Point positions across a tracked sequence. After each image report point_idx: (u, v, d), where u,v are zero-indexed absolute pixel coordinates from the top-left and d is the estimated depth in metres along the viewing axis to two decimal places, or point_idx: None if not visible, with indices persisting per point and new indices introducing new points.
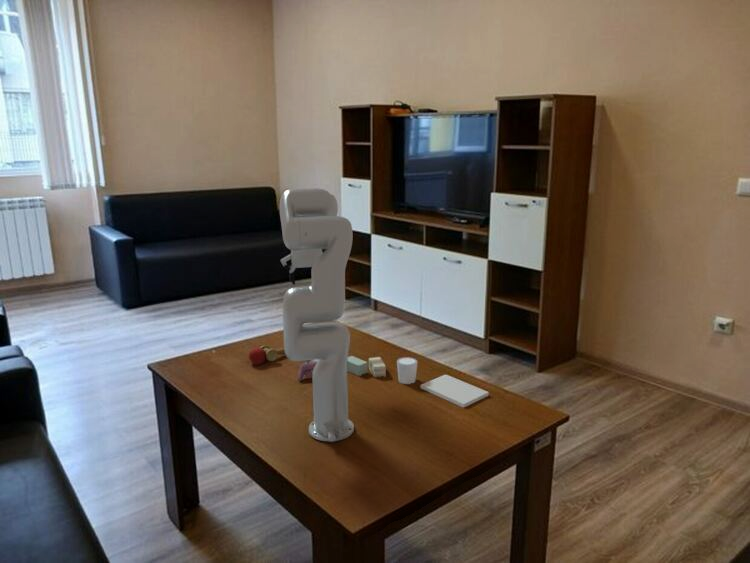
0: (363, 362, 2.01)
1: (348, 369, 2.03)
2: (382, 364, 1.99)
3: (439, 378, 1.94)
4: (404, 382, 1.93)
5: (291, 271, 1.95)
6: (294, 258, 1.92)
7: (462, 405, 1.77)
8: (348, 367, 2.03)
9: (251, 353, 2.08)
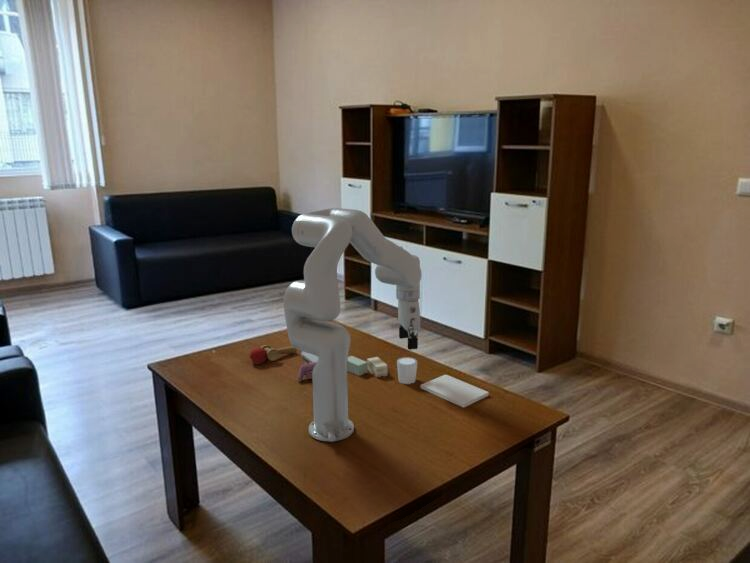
0: (363, 362, 2.01)
1: (348, 369, 2.03)
2: (383, 364, 2.00)
3: (439, 378, 1.94)
4: (404, 382, 1.93)
5: None
6: None
7: (462, 405, 1.77)
8: (348, 367, 2.03)
9: (252, 353, 2.08)
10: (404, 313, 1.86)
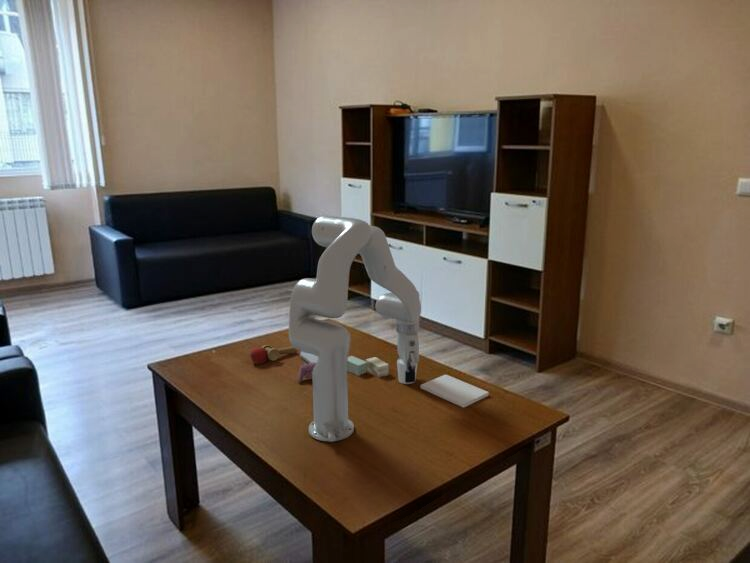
0: (363, 362, 2.01)
1: (348, 369, 2.03)
2: (384, 363, 2.00)
3: (439, 378, 1.94)
4: (404, 382, 1.93)
5: None
6: (418, 353, 1.89)
7: (462, 405, 1.77)
8: (348, 367, 2.03)
9: (253, 352, 2.08)
10: (403, 347, 1.89)
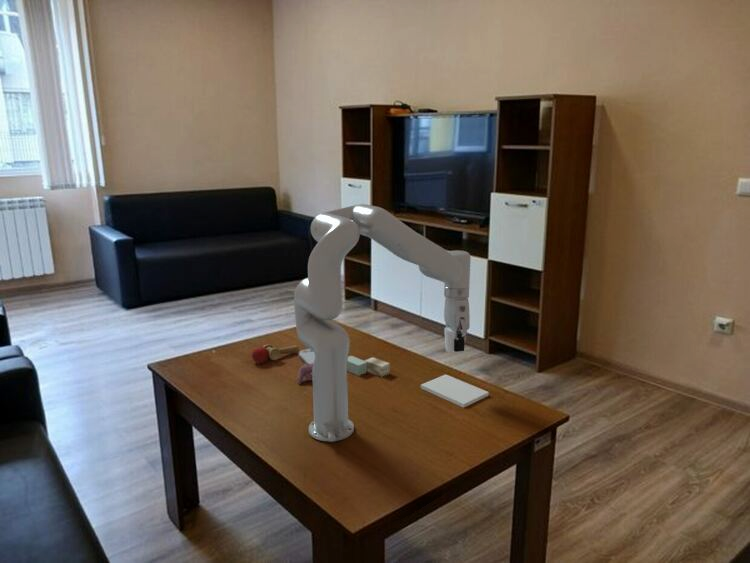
0: (363, 362, 2.01)
1: (348, 369, 2.03)
2: (385, 362, 2.01)
3: (439, 378, 1.94)
4: (452, 351, 1.81)
5: None
6: None
7: (462, 405, 1.77)
8: (348, 367, 2.03)
9: (254, 352, 2.08)
10: (453, 312, 1.76)
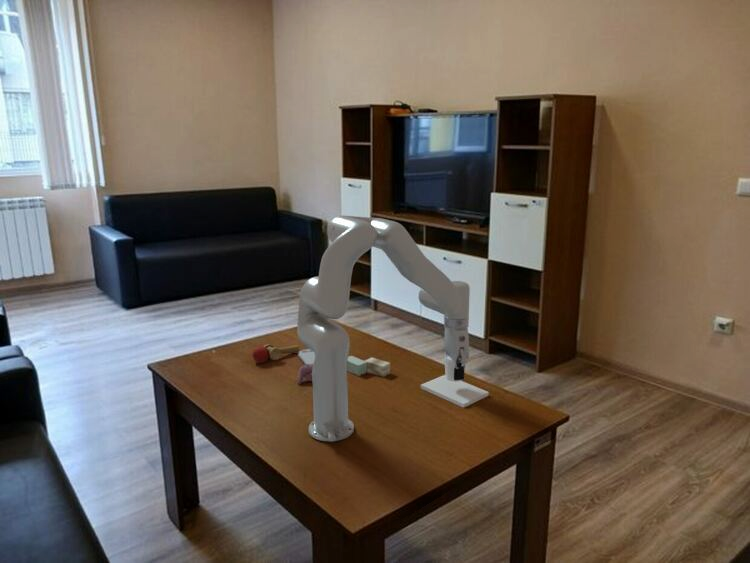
0: (363, 362, 2.01)
1: (348, 369, 2.03)
2: (385, 362, 2.01)
3: (439, 378, 1.94)
4: (452, 379, 1.83)
5: None
6: (468, 349, 1.80)
7: (462, 405, 1.77)
8: (348, 367, 2.03)
9: (254, 352, 2.09)
10: (452, 342, 1.79)
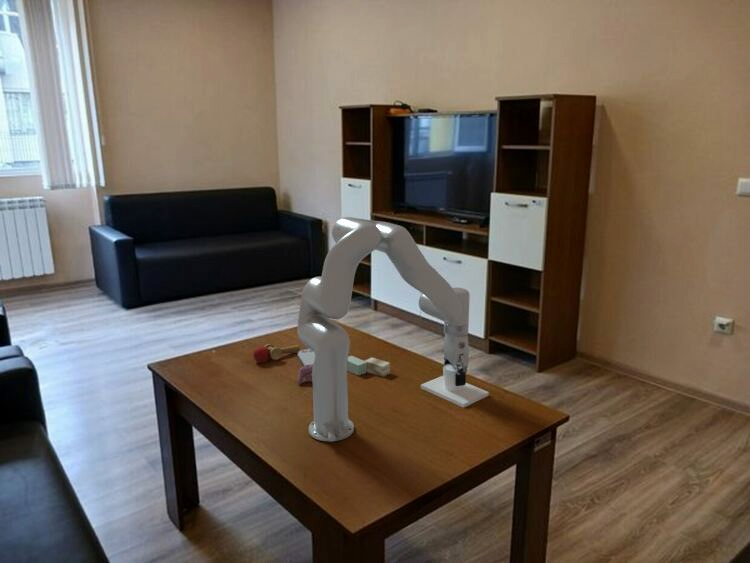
0: (363, 362, 2.01)
1: (348, 369, 2.03)
2: (385, 362, 2.01)
3: (439, 378, 1.94)
4: (451, 390, 1.85)
5: None
6: (468, 356, 1.80)
7: (462, 405, 1.77)
8: (348, 367, 2.03)
9: (255, 351, 2.09)
10: (452, 349, 1.79)
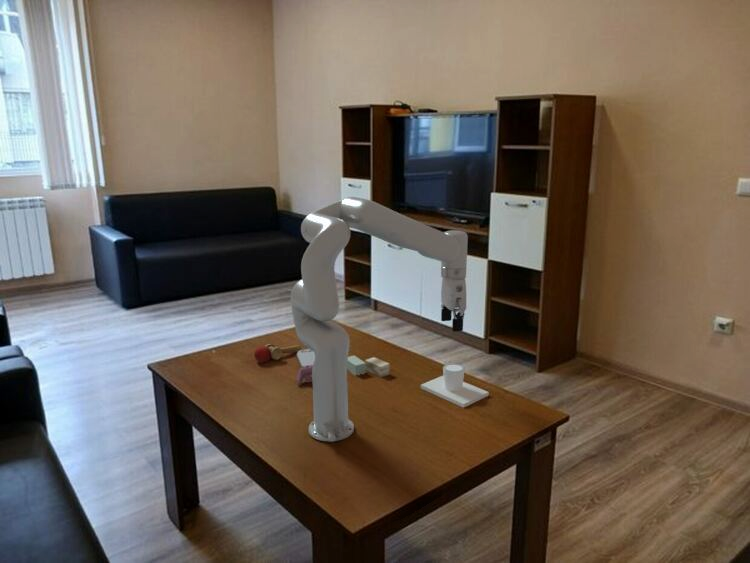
0: (361, 363, 2.00)
1: (348, 368, 2.04)
2: (385, 363, 2.00)
3: (439, 378, 1.94)
4: (451, 390, 1.85)
5: None
6: None
7: (462, 405, 1.77)
8: (348, 366, 2.03)
9: (256, 351, 2.09)
10: (449, 293, 1.75)
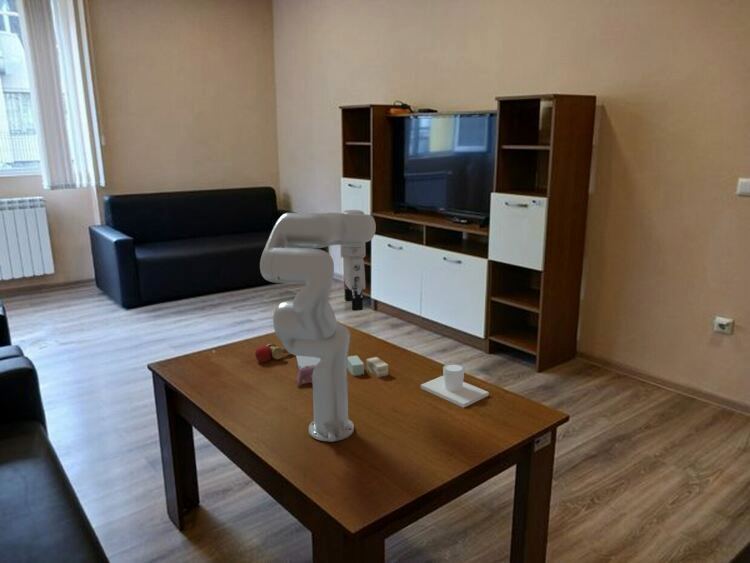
0: (360, 363, 2.00)
1: (348, 368, 2.04)
2: (384, 363, 2.00)
3: (439, 378, 1.94)
4: (451, 390, 1.85)
5: (361, 295, 1.76)
6: None
7: (462, 405, 1.77)
8: (348, 366, 2.04)
9: (257, 351, 2.10)
10: (348, 272, 1.76)
